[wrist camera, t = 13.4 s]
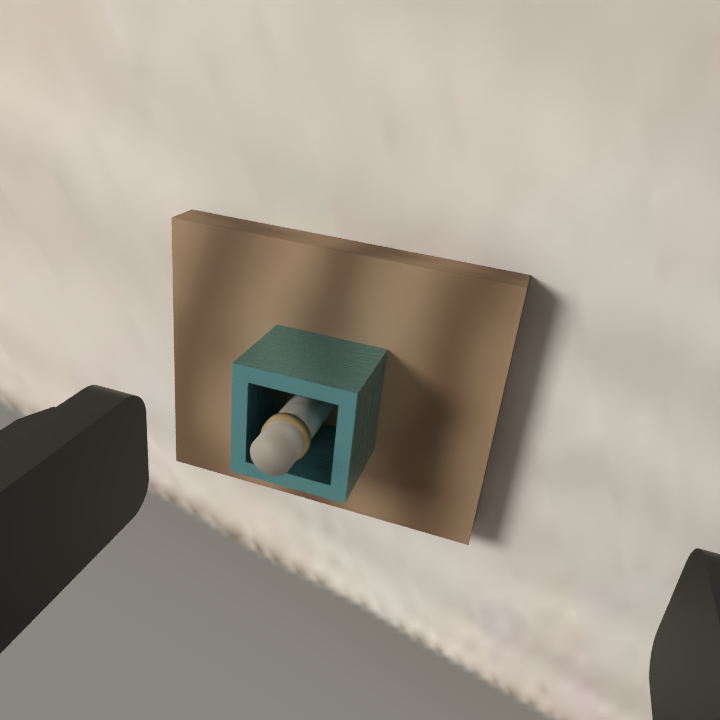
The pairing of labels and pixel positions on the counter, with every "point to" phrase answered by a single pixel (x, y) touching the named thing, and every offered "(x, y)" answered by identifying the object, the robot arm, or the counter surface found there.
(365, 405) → the collar
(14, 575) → the robot arm
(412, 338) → the post board
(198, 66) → the counter surface
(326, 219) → the counter surface
